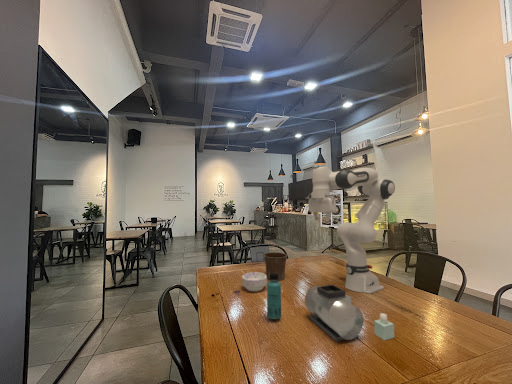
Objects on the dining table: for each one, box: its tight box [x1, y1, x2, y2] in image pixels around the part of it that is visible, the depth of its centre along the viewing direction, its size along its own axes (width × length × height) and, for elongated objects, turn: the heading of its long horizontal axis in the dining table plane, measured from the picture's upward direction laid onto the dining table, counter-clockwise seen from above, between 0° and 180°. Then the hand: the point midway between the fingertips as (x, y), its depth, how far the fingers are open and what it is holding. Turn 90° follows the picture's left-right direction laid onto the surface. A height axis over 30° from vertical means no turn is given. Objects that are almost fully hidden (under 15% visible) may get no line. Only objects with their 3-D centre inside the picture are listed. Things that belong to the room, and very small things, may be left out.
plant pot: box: [263, 251, 288, 282], centre depth 154 cm, size 16×16×16 cm
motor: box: [304, 284, 364, 343], centre depth 94 cm, size 12×26×16 cm, turn 19°
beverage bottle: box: [266, 273, 282, 320], centre depth 99 cm, size 6×7×20 cm
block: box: [373, 312, 395, 341], centre depth 86 cm, size 5×4×8 cm
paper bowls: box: [241, 271, 268, 292], centre depth 135 cm, size 15×15×8 cm
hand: (321, 220), depth 119 cm, fingers open, 8 cm apart
